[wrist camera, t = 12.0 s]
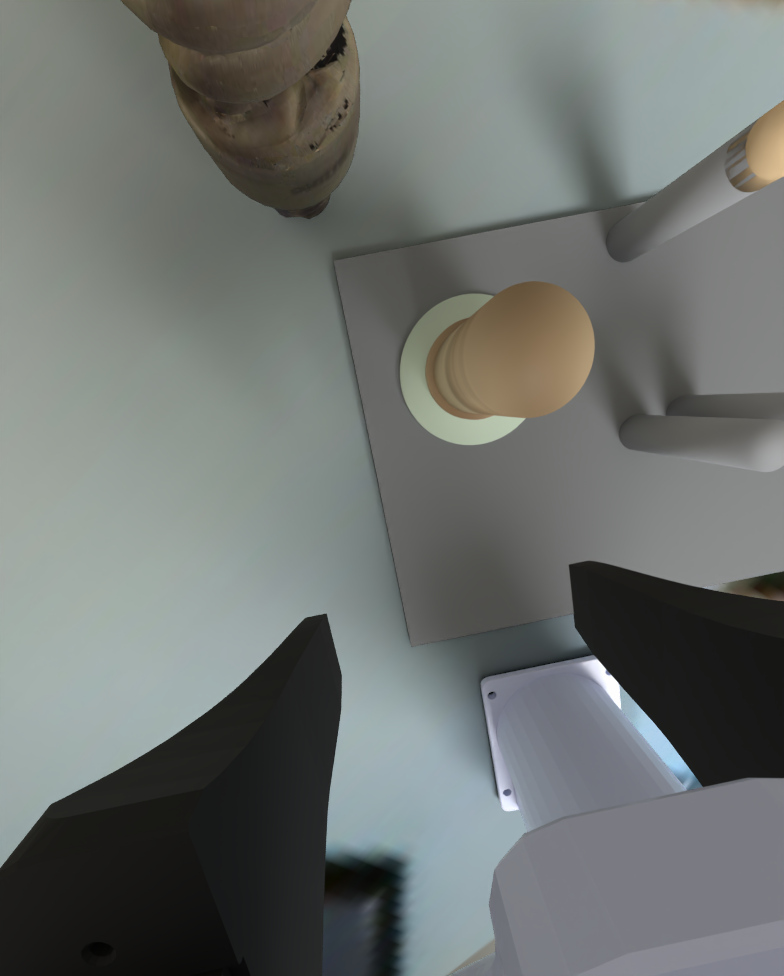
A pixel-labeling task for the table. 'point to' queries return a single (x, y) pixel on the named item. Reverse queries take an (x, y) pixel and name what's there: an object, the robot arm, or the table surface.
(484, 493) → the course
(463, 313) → the pad
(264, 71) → the light bulb
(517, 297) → the cylinder
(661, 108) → the table surface
